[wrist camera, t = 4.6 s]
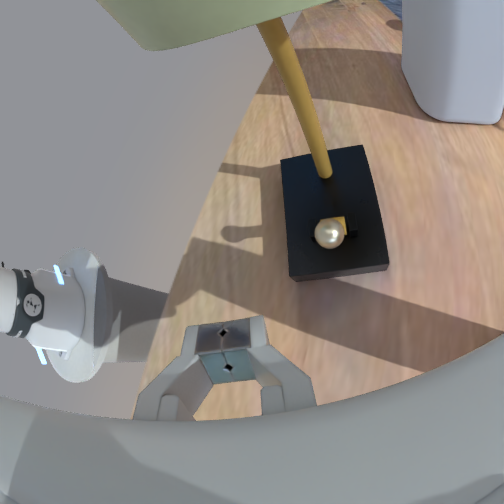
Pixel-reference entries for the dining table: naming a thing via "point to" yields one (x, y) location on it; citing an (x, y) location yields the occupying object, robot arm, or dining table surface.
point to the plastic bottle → (455, 58)
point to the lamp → (320, 160)
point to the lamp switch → (330, 232)
